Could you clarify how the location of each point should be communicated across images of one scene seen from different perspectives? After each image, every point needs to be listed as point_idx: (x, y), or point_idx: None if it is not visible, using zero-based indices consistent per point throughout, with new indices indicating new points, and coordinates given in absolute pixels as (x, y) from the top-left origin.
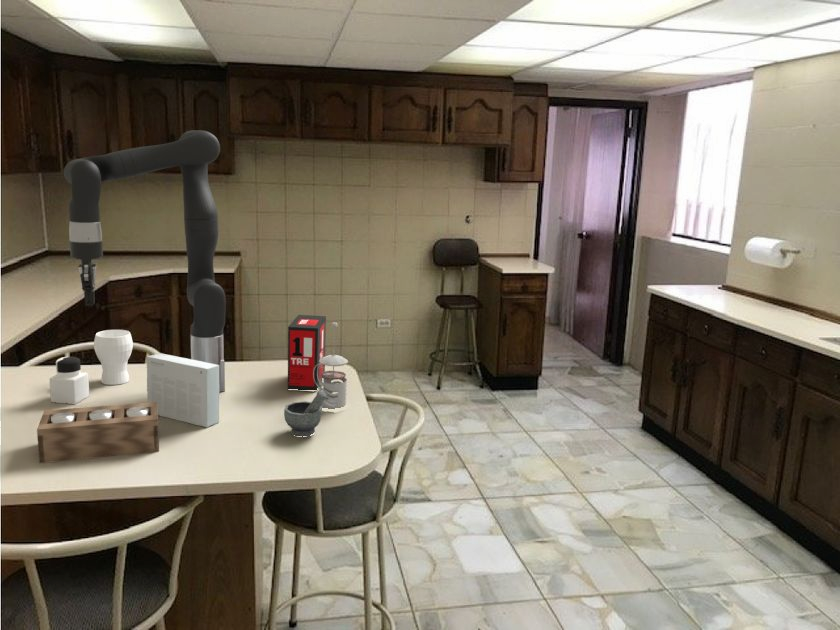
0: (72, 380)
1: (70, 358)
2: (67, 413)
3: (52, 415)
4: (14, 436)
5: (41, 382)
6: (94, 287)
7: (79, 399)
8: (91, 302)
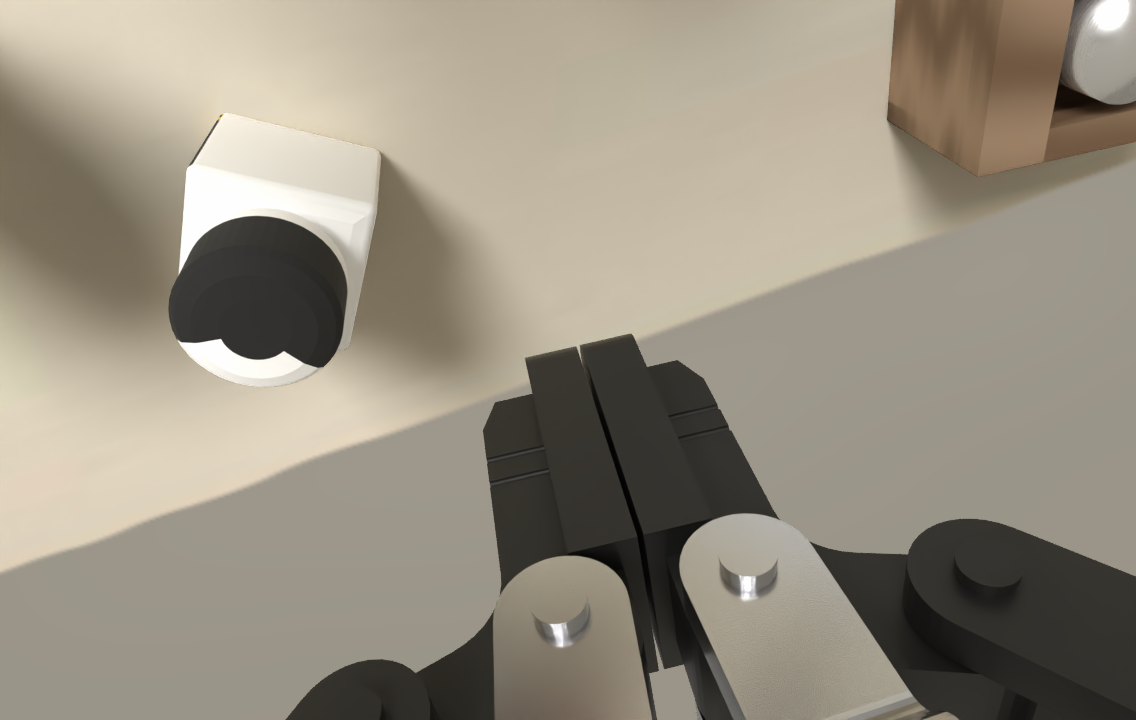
0: (374, 214)
1: (254, 314)
2: (1111, 28)
3: (1109, 102)
4: (784, 269)
5: (36, 428)
6: (584, 616)
7: (335, 142)
8: (703, 385)
